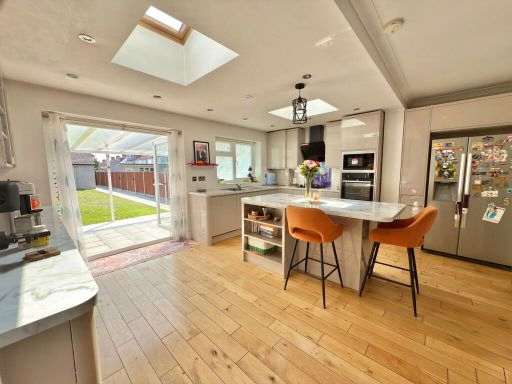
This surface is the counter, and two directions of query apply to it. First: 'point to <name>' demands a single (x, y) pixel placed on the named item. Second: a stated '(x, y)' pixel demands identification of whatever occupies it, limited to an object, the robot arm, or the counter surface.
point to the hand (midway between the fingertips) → (47, 232)
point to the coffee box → (26, 226)
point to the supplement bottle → (41, 241)
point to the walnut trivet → (38, 254)
